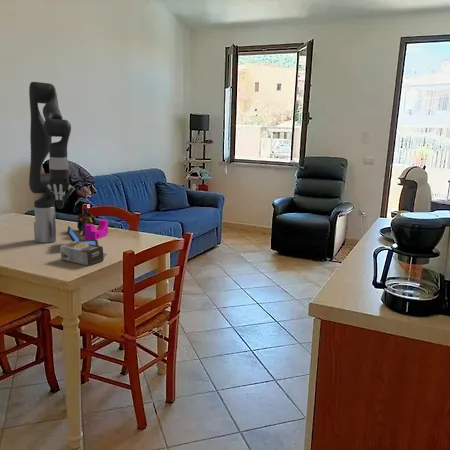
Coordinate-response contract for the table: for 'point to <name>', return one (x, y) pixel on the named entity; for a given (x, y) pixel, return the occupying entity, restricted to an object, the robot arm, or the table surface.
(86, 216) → the doll family
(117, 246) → the table surface
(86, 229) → the toy block
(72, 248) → the coffee box
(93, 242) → the game console
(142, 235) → the table surface
